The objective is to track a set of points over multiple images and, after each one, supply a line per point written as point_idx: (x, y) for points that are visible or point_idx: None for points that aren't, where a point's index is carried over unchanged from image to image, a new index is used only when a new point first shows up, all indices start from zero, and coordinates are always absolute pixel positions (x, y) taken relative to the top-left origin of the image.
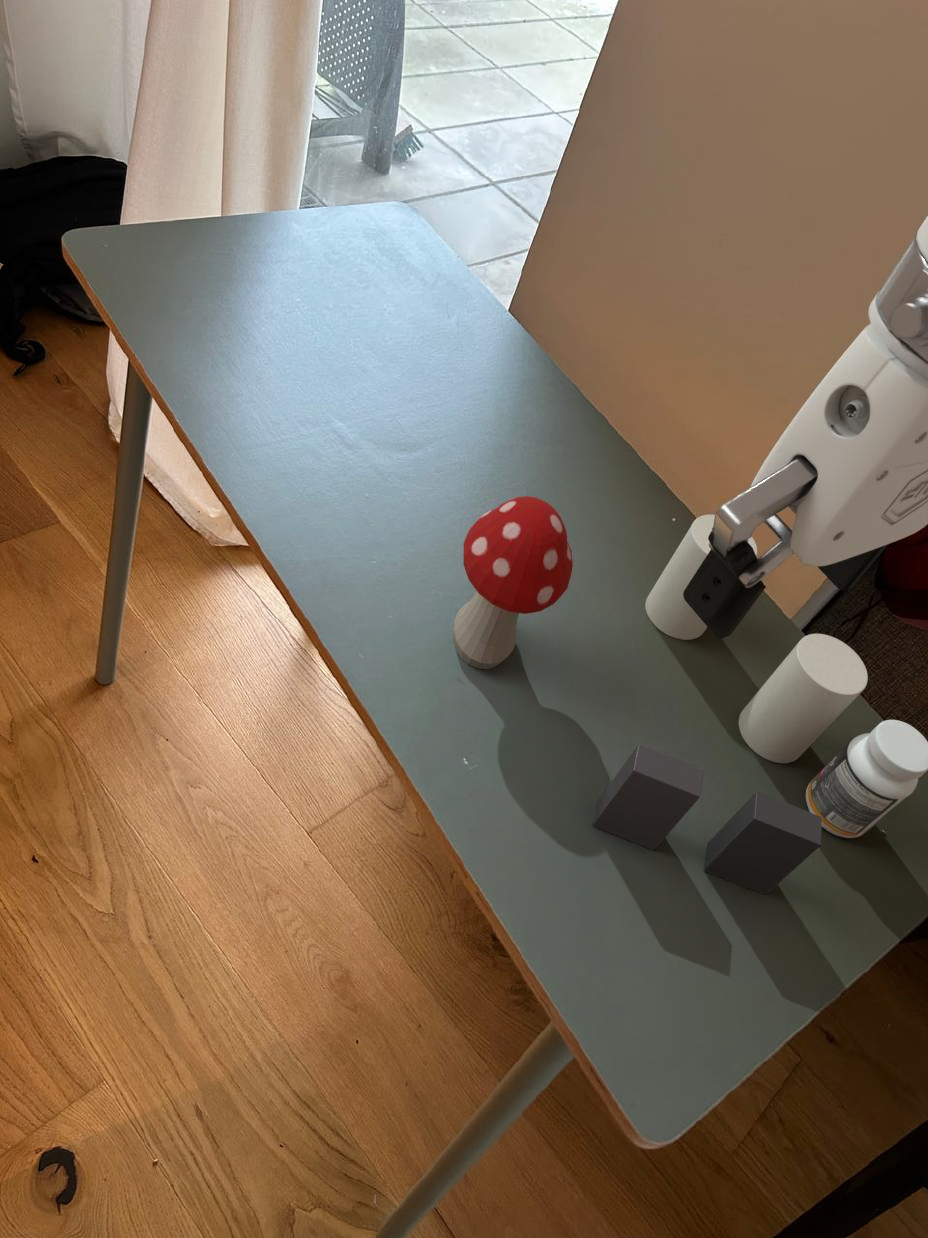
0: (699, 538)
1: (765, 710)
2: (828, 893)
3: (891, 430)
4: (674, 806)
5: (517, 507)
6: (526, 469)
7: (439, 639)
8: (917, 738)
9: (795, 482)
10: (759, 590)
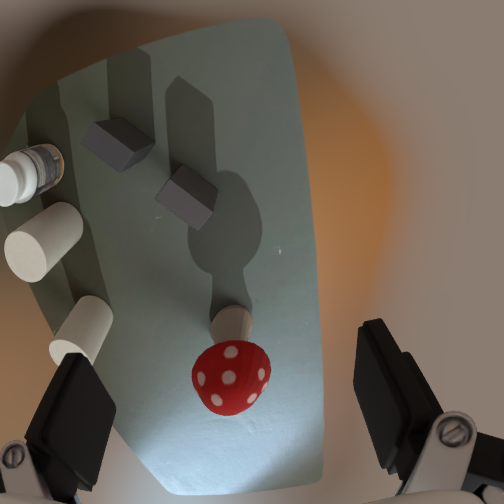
0: None
1: (69, 237)
2: (80, 111)
3: None
4: (181, 180)
5: (240, 411)
6: (156, 404)
7: (256, 326)
8: None
9: None
10: (427, 409)
